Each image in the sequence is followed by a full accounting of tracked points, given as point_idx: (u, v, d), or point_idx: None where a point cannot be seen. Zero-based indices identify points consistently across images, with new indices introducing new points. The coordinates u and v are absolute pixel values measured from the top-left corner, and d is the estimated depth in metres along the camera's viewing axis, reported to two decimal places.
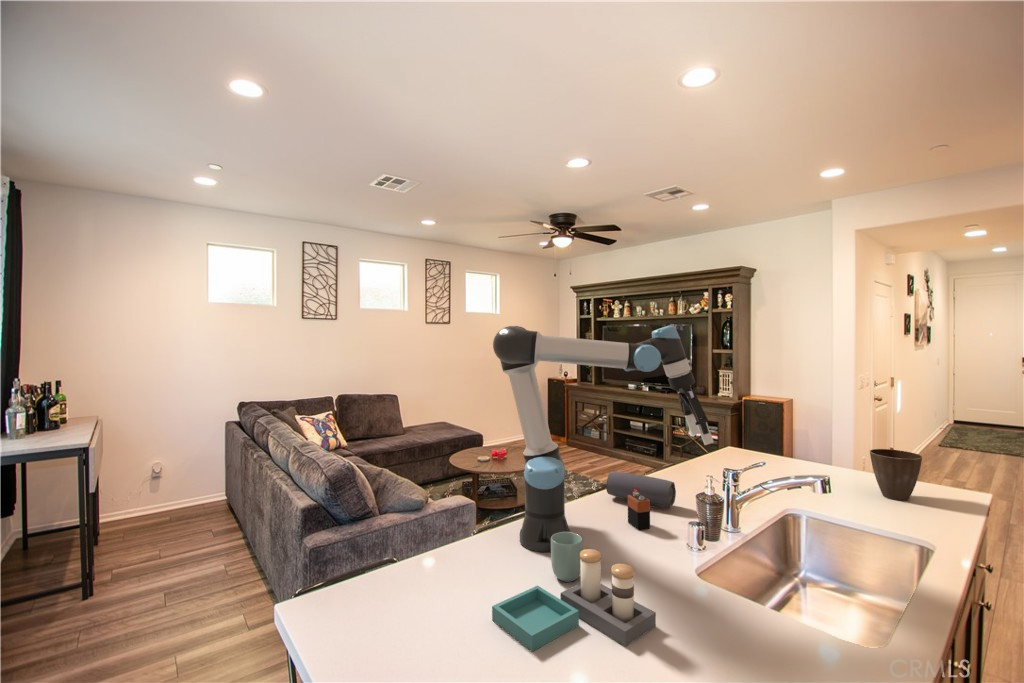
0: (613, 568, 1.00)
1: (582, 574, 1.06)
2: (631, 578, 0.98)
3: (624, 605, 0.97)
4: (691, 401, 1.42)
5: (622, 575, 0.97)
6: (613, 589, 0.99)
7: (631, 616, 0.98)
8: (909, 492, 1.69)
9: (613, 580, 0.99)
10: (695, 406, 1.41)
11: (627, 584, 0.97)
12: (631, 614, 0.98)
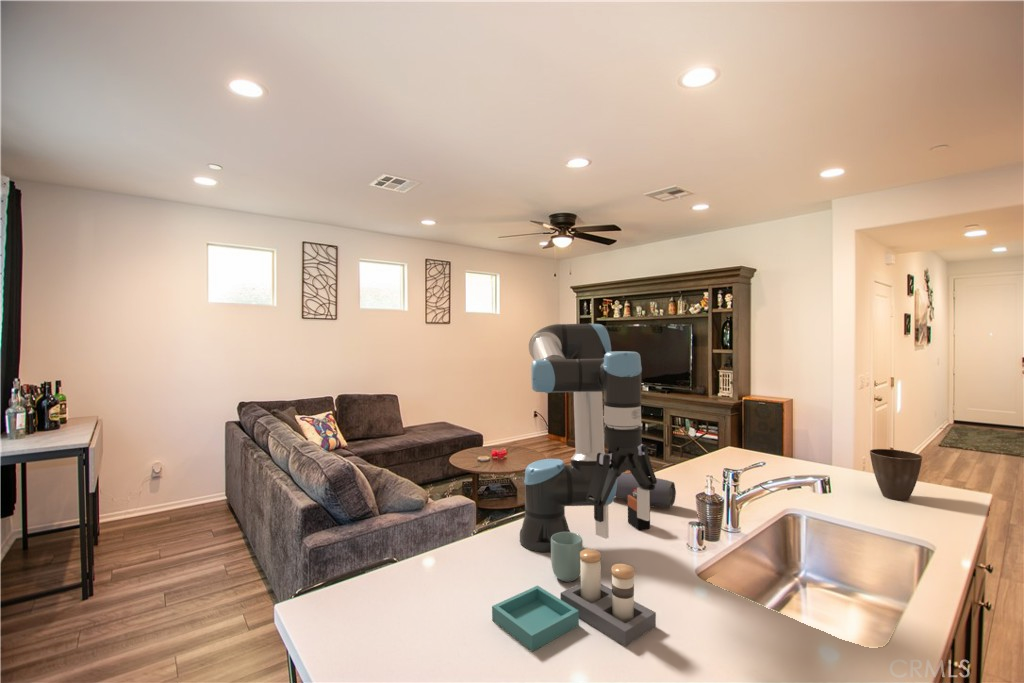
0: (613, 568, 1.00)
1: (582, 574, 1.06)
2: (631, 578, 0.98)
3: (624, 605, 0.97)
4: (596, 467, 0.95)
5: (622, 575, 0.97)
6: (613, 589, 0.99)
7: (631, 616, 0.98)
8: (909, 492, 1.69)
9: (613, 580, 0.99)
10: (595, 477, 0.94)
11: (627, 584, 0.97)
12: (631, 614, 0.98)
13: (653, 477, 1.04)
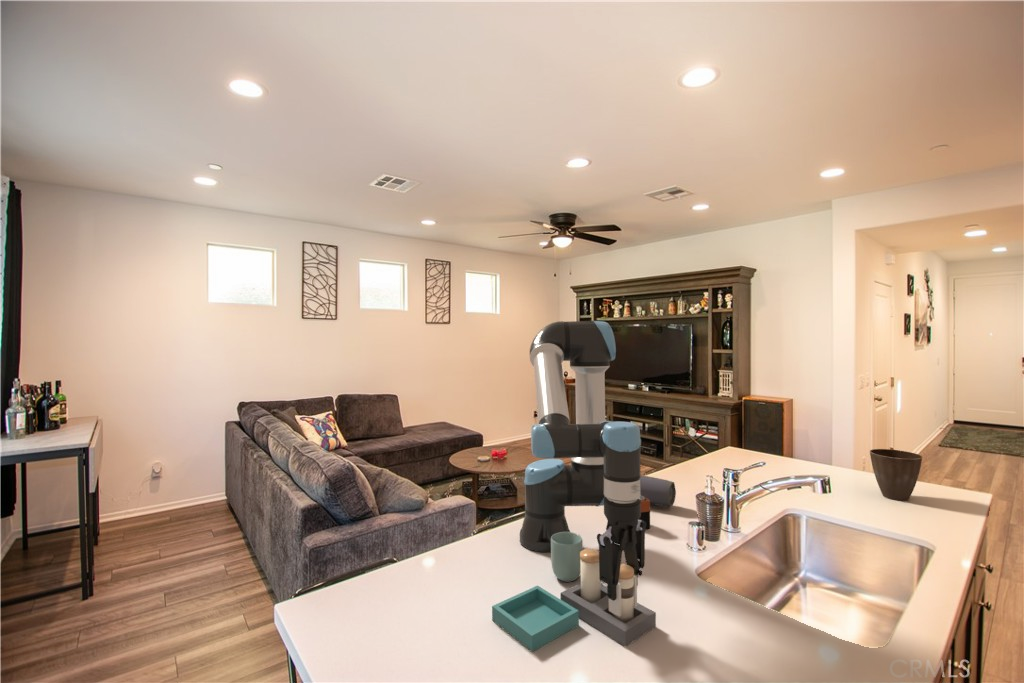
0: None
1: (582, 574, 1.06)
2: (631, 578, 0.98)
3: (624, 605, 0.97)
4: (600, 549, 0.96)
5: (622, 575, 0.97)
6: None
7: (631, 616, 0.98)
8: (909, 492, 1.69)
9: None
10: (602, 558, 0.96)
11: (627, 584, 0.97)
12: (631, 614, 0.98)
13: (643, 560, 1.02)
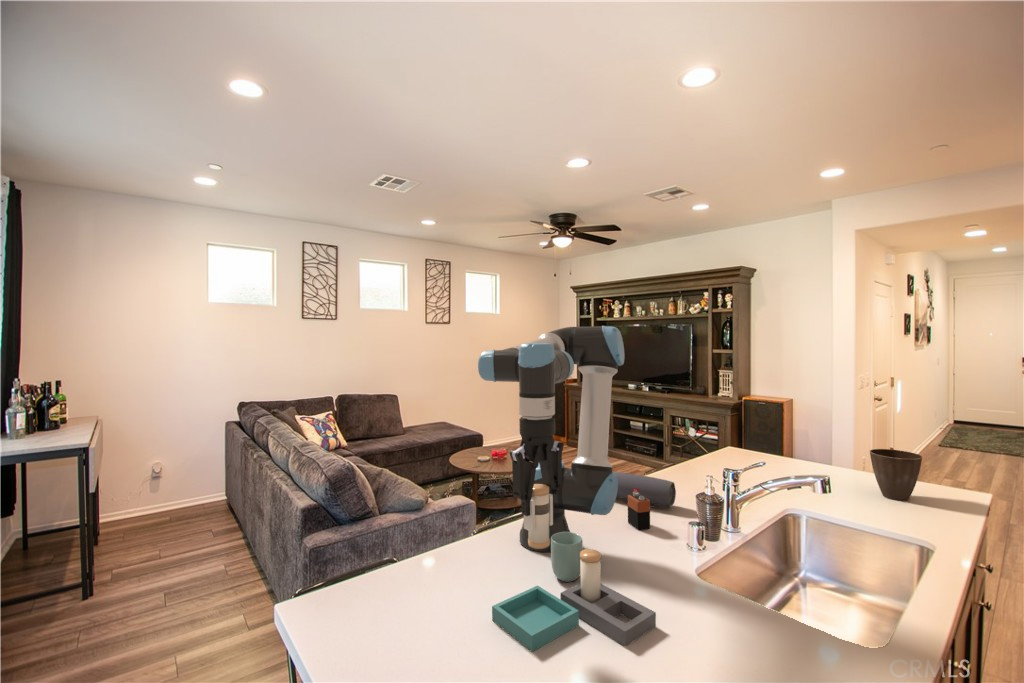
0: None
1: (582, 574, 1.06)
2: (545, 495, 0.99)
3: (538, 521, 0.98)
4: (513, 465, 0.97)
5: (536, 491, 0.98)
6: None
7: (545, 532, 0.99)
8: (909, 492, 1.69)
9: None
10: (515, 474, 0.97)
11: (541, 500, 0.98)
12: (545, 531, 0.99)
13: (559, 480, 1.03)
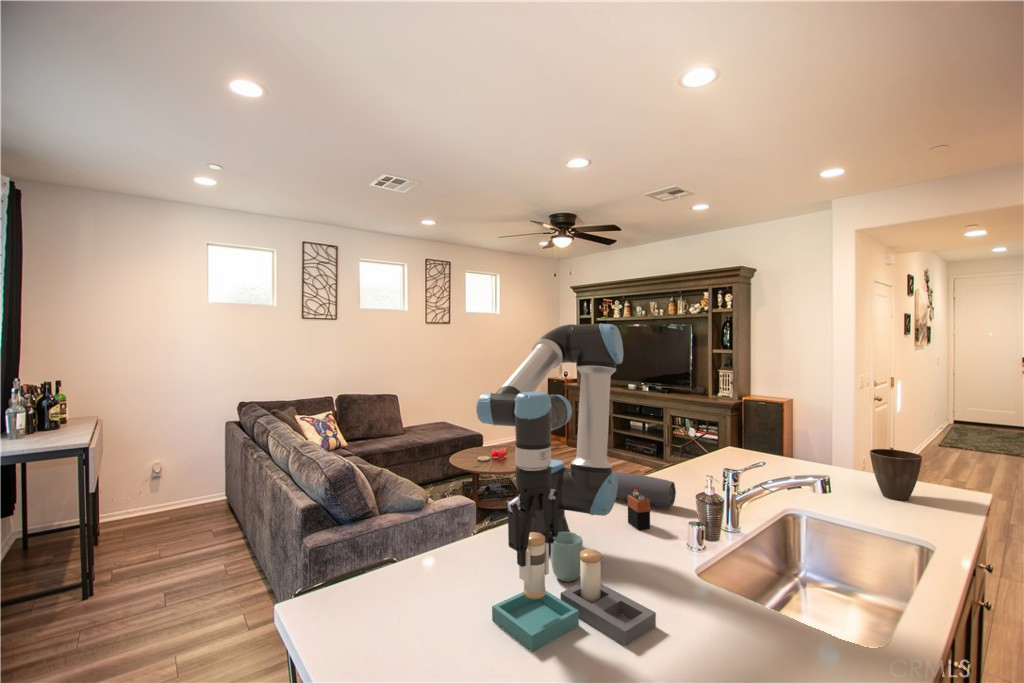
0: None
1: (582, 574, 1.06)
2: (541, 545, 0.99)
3: (534, 572, 0.99)
4: (509, 515, 0.98)
5: (531, 542, 0.98)
6: None
7: (541, 583, 0.99)
8: (909, 492, 1.69)
9: None
10: (510, 525, 0.97)
11: (536, 551, 0.99)
12: (541, 581, 0.99)
13: (556, 529, 1.03)
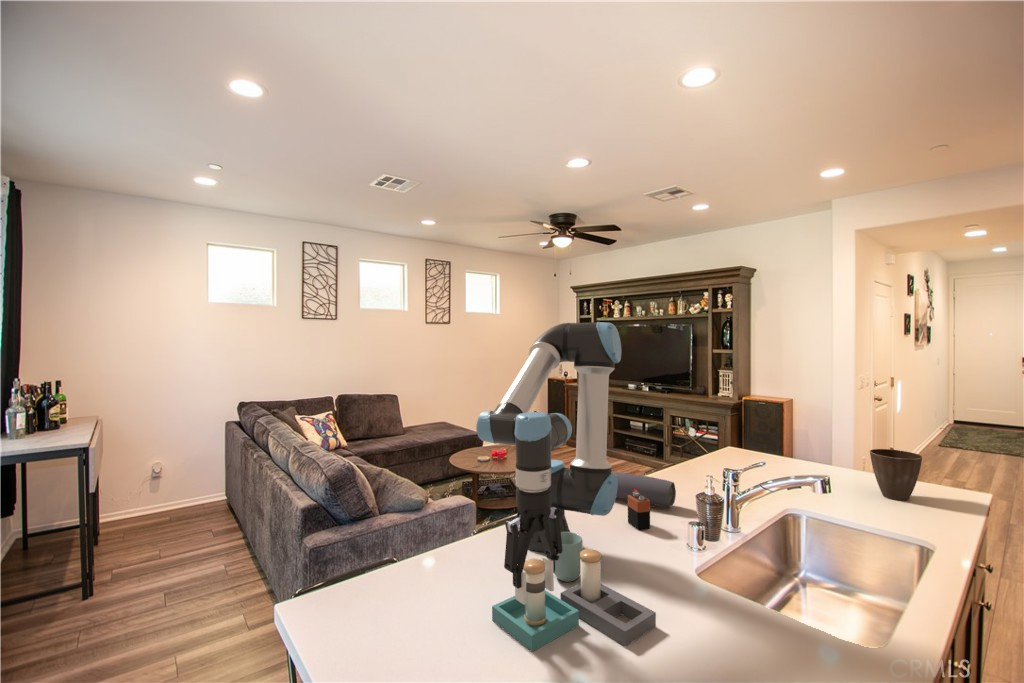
0: (525, 563, 1.01)
1: (582, 574, 1.06)
2: (541, 573, 0.99)
3: (534, 599, 0.99)
4: (507, 536, 0.97)
5: (532, 570, 0.98)
6: None
7: (541, 610, 0.99)
8: (909, 492, 1.69)
9: None
10: (508, 545, 0.97)
11: (537, 579, 0.99)
12: (541, 608, 0.99)
13: (560, 546, 1.04)
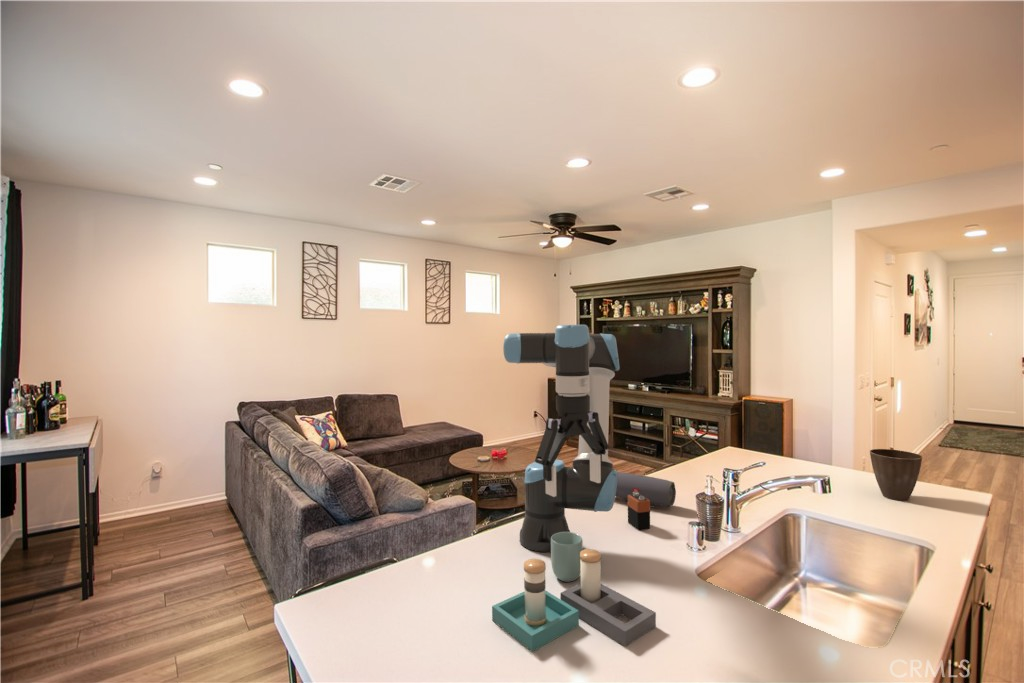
0: (525, 563, 1.01)
1: (582, 574, 1.06)
2: (541, 573, 0.99)
3: (535, 599, 0.99)
4: (545, 431, 1.03)
5: (532, 570, 0.99)
6: (525, 584, 1.00)
7: (541, 610, 0.99)
8: (909, 492, 1.69)
9: (525, 575, 1.00)
10: (544, 440, 1.02)
11: (537, 579, 0.99)
12: (541, 608, 0.99)
13: (605, 443, 1.11)
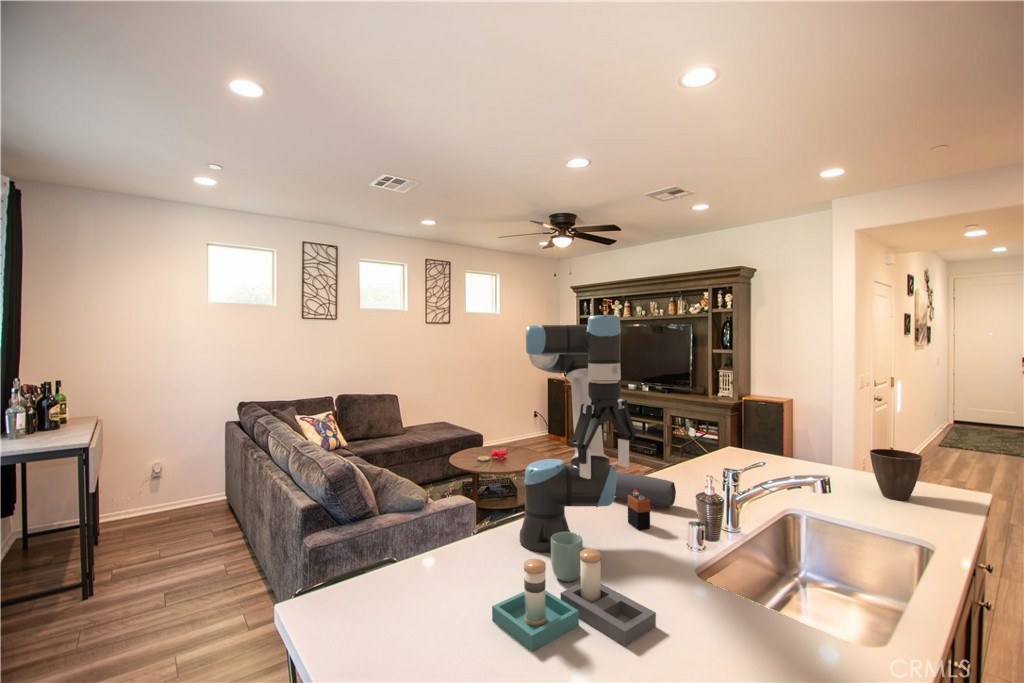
0: (525, 563, 1.01)
1: (582, 574, 1.06)
2: (541, 573, 0.99)
3: (535, 599, 0.99)
4: (580, 417, 1.08)
5: (532, 570, 0.99)
6: (525, 584, 1.00)
7: (541, 610, 0.99)
8: (909, 492, 1.69)
9: (525, 575, 1.00)
10: (579, 424, 1.07)
11: (537, 579, 0.99)
12: (541, 608, 0.99)
13: (633, 429, 1.16)
